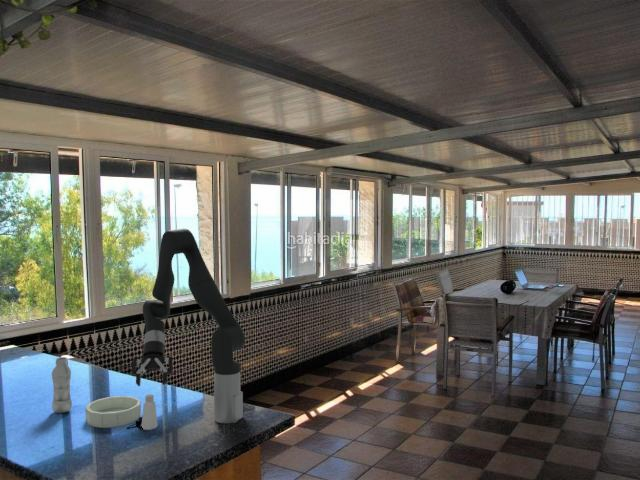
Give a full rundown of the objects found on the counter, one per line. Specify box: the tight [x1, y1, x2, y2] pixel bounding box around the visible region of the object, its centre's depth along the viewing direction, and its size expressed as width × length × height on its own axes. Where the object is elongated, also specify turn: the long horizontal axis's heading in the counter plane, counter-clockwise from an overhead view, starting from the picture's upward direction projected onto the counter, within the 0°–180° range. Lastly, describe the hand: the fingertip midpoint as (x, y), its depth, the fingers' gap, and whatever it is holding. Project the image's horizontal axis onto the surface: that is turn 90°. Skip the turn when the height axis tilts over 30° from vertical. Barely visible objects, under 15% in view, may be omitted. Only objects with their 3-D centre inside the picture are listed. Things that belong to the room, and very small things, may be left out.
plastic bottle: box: [51, 357, 73, 414], centre depth 197 cm, size 6×7×20 cm
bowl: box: [85, 395, 142, 429], centre depth 191 cm, size 18×18×5 cm
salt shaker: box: [141, 393, 159, 431], centre depth 183 cm, size 5×5×11 cm
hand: (151, 384), depth 190 cm, fingers open, 8 cm apart
